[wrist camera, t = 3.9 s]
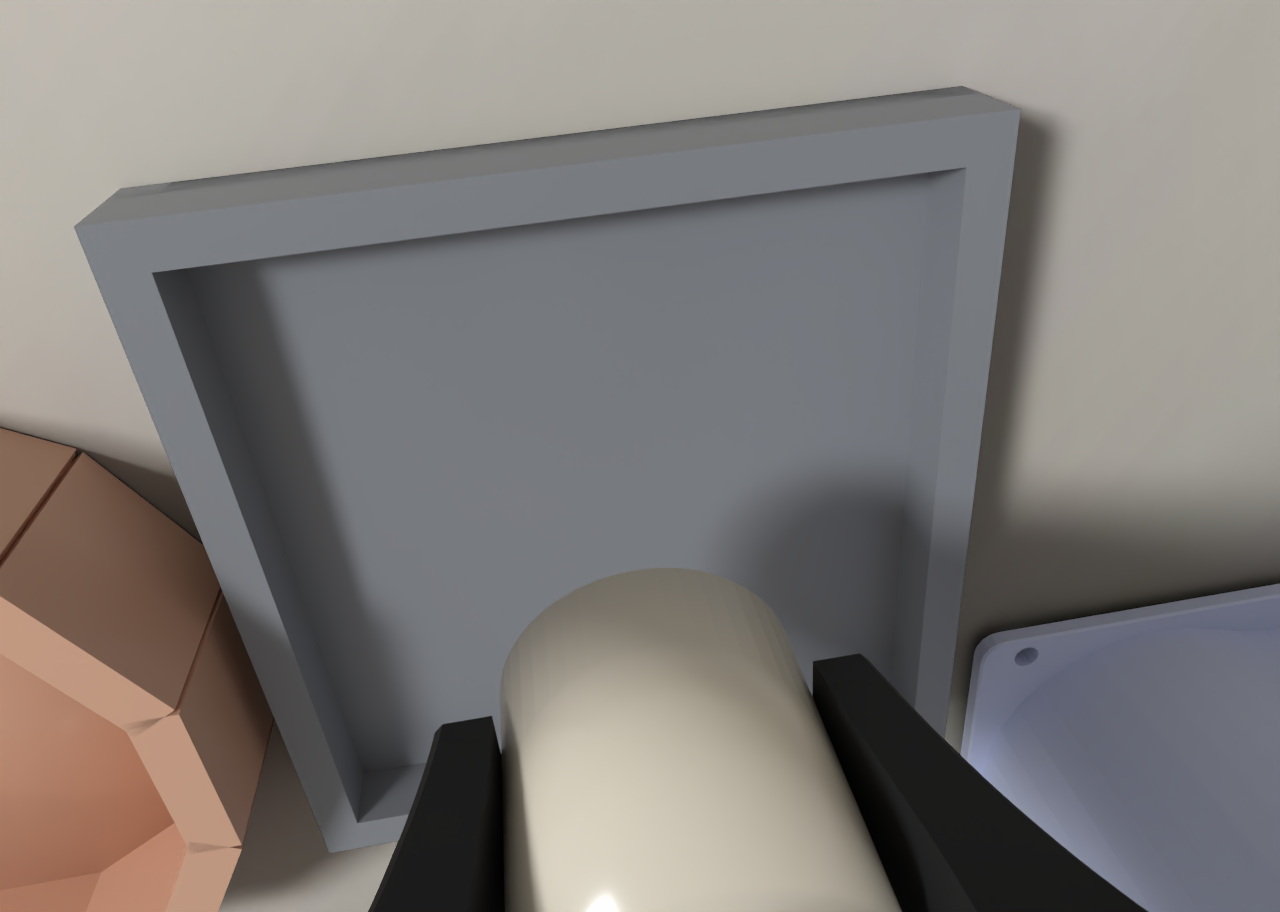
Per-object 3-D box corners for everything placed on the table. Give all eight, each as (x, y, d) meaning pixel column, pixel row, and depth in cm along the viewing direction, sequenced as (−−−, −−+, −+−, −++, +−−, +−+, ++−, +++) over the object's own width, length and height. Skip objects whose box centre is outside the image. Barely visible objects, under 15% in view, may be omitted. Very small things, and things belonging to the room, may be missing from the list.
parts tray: (961, 86, 14) (1020, 108, 13) (909, 678, 21) (944, 741, 19) (120, 188, 13) (73, 227, 12) (340, 779, 20) (329, 853, 18)
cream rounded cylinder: (791, 545, 12) (938, 851, 8) (791, 760, 14) (910, 1087, 10) (475, 595, 12) (472, 939, 8) (523, 808, 14) (540, 1164, 10)
